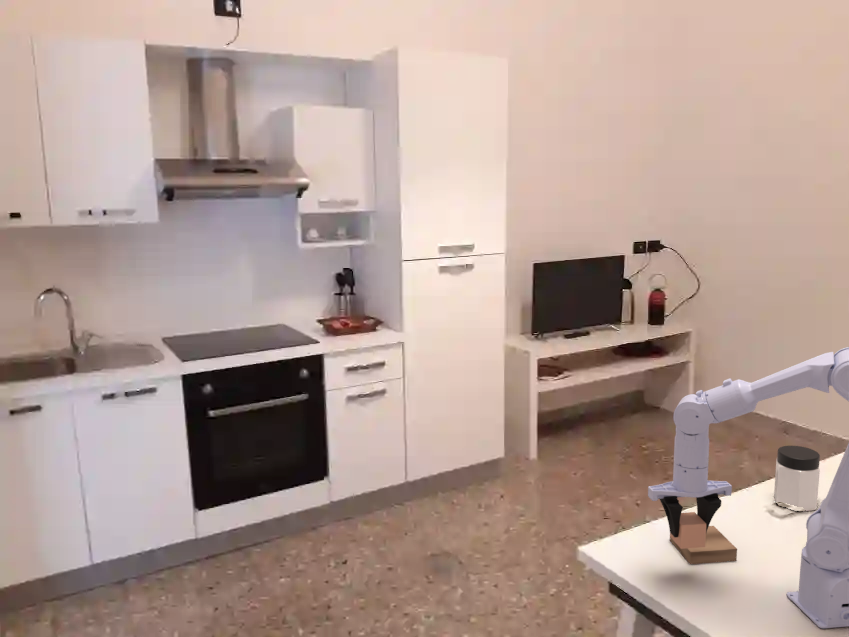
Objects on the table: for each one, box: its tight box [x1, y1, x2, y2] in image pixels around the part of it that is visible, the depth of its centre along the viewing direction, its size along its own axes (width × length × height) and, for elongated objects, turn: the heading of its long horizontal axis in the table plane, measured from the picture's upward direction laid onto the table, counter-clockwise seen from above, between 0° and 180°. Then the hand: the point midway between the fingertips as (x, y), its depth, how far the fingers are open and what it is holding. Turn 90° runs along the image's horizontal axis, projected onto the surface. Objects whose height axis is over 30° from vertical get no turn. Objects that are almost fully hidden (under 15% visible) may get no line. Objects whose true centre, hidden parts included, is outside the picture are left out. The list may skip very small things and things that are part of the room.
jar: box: [773, 445, 821, 512], centre depth 151 cm, size 9×8×12 cm
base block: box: [669, 525, 738, 565], centre depth 134 cm, size 9×9×2 cm
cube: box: [669, 511, 706, 549], centre depth 125 cm, size 4×4×4 cm
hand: (687, 533), depth 125 cm, fingers closed on cube, 4 cm apart
